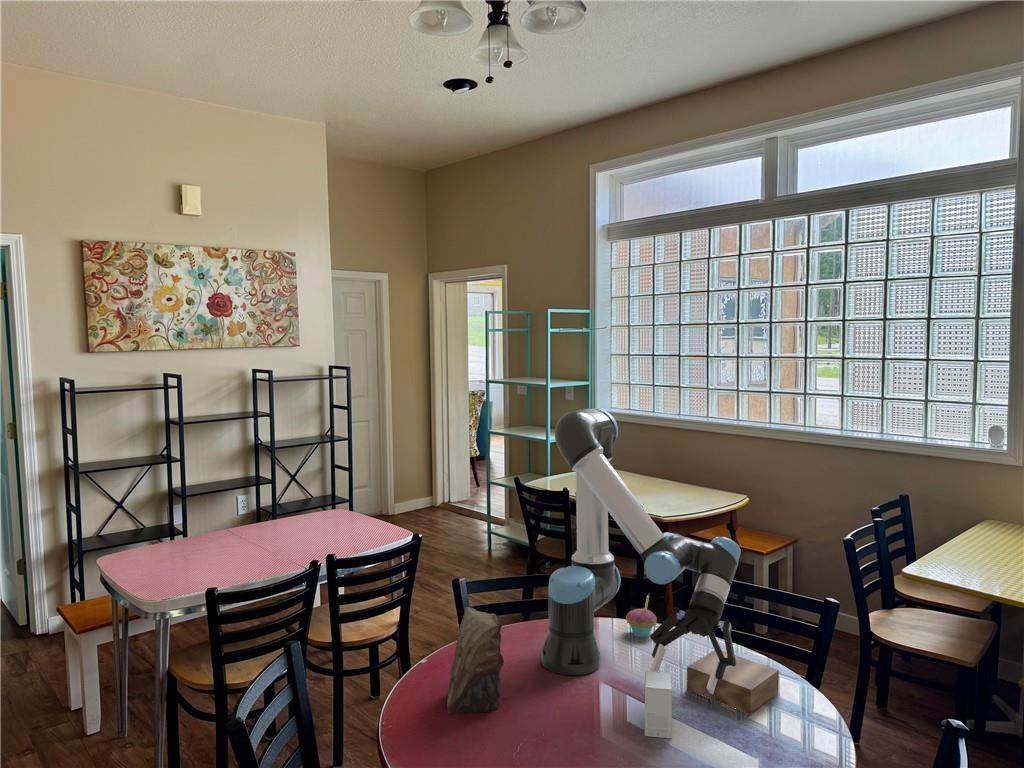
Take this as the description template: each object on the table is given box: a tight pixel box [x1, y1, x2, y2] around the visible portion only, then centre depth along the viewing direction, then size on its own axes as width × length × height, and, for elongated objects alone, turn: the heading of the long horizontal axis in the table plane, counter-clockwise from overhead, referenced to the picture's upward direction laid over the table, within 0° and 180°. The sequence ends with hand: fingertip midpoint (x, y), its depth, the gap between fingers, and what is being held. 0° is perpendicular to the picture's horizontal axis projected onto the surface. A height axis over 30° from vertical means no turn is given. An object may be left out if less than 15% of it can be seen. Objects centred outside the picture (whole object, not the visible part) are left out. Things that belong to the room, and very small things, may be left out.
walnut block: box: [686, 649, 780, 716], centre depth 163 cm, size 16×14×6 cm
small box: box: [644, 670, 673, 740], centre depth 146 cm, size 8×6×10 cm
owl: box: [446, 606, 505, 715], centre depth 157 cm, size 13×13×20 cm
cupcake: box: [625, 593, 658, 638], centre depth 196 cm, size 9×8×12 cm
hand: (680, 682), depth 154 cm, fingers open, 13 cm apart
